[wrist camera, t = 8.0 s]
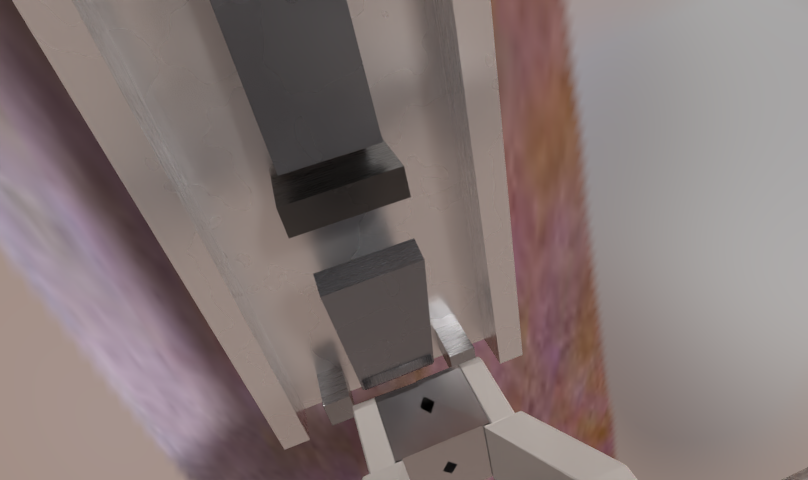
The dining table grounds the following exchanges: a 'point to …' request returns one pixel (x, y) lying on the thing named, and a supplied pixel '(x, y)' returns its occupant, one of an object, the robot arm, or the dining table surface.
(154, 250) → the dining table surface
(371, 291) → the strap
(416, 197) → the fuse holder
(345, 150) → the strap
